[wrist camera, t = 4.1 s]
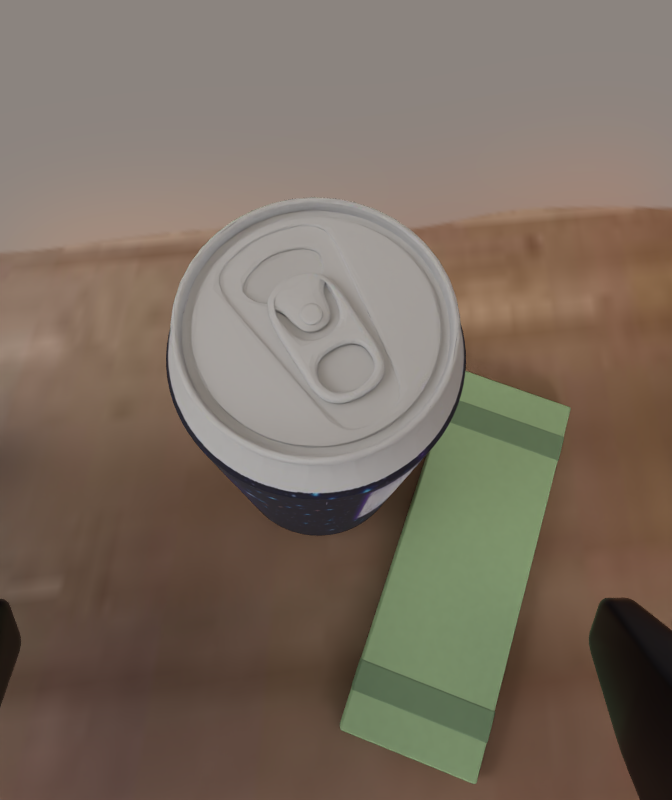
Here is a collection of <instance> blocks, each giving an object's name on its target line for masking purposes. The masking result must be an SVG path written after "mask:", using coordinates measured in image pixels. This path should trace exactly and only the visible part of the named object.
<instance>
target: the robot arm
mask: <svg viewBox="0 0 672 800" xmlns="http://www.w3.org/2000/svg"><path fill="white" fill-rule="evenodd" d="M20 646H21V636H20V632H19V630H18V627H17V624H16V621H15V618H14V616H13V613H12V610H11V607H10V605H9V603H8V602H7V601H6V600H5V599H0V706H1V703H2V700H3V698H4V695H5V692H6V689H7V686H8V683H9V680H10V677H11V674H12V672H13V669H14V666H15V663H16V660H17V657H18V654H19V651H20ZM589 646H590V651H591V654H592V658H593V661H594V665H595V668H596V671H597V675H598V678H599V681H600V685H601V688H602V691H603V695H604V698H605V701H606V705H607V708H608V711H609V715H610V718H611V721H612V725H613V728H614V732H615V735H616V738H617V741H618V744H619V747H620V750H621V753H622V756H623V758H624V761H625V764H626V766H627V769H628V771H629V774H630V776H631V779H632V781H633V784H634V786H635V789H636V791H637V794H638V796H639V798H640V800H672V630H670V629H669V628H668V627H667V626H665V625H664V624H663V623H662V622H660V621H659V620H658V619H657V618H655V617H654V616H653V615H652V614H650V613H649V612H648V611H646V610H645V609H644V608H643V607H641V606H640V605H639V604H638V603H636V602H635V601H633V600H631V599H629V598H605V599H603V600H602V601H601V602H600V604H599V606H598V609H597V612H596V615H595V618H594V621H593V624H592V627H591V630H590V634H589Z"/></svg>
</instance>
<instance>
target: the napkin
mask: <svg viewBox="0 0 672 800" xmlns="http://www.w3.org/2000/svg"><path fill="white" fill-rule="evenodd" d="M569 413H570V407H568V406H565V405H562V404H559V403H556V402H554V401H551V400H548V399H545V398H542V397H539V396H536V395H533V394H530V393H528V392H525V391H522V390H519V389H516V388H513V387H510V386H507V385H504V384H502V383H499V382H496V381H493V380H490V379H487V378H484V377H481V376H478V375H476V374H473V373H470V372H467V371H465V378H464V385H463V389H462V393H461V397H460V400H459V403H458V406H457V408H456V411H455V413H454V416H453V418H452V419H451V421H450V423H449V425H448V427H447V429H446V430H445V432H444V433H443V435H442V436H441V438H440V439H439V440H438V442H437V443H436V444H435V445H434V447H433V448H432V449H431V450H430V451H429V452H428V453H427V455H426V459H425V462H424V465H423V468H422V471H421V474H420V477H419V480H418V483H417V486H416V489H415V493H414V496H413V499H412V502H411V505H410V508H409V511H408V514H407V517H406V520H405V523H404V527H403V530H402V533H401V536H400V539H399V542H398V545H397V548H396V551H395V554H394V557H393V561H392V564H391V567H390V570H389V573H388V576H387V579H386V582H385V585H384V588H383V592H382V595H381V598H380V601H379V604H378V607H377V610H376V613H375V616H374V619H373V622H372V626H371V629H370V632H369V635H368V638H367V641H366V644H365V647H364V650H363V653H362V656H361V658H360V661H359V664H358V667H357V670H356V673H355V676H354V679H353V682H352V687H351V690H350V694H349V697H348V700H347V703H346V706H345V709H344V712H343V715H342V718H341V721H340V729H341V730H342V731H344V732H347V733H349V734H352V735H354V736H357V737H359V738H362V739H364V740H367V741H369V742H371V743H374V744H376V745H379V746H381V747H384V748H386V749H389V750H391V751H394V752H396V753H399V754H401V755H404V756H406V757H408V758H411V759H413V760H416V761H418V762H421V763H423V764H426V765H428V766H431V767H433V768H436V769H438V770H440V771H443V772H445V773H448V774H450V775H453V776H455V777H458V778H460V779H463V780H465V781H468V782H470V783H472V784H476V782H477V779H478V775H479V771H480V767H481V763H482V759H483V755H484V751H485V747H486V743H487V742H488V739H489V735H490V731H491V727H492V723H493V719H494V715H495V707H496V703H497V699H498V695H499V691H500V687H501V683H502V679H503V675H504V671H505V667H506V663H507V659H508V656H509V652H510V648H511V644H512V640H513V636H514V632H515V628H516V624H517V620H518V616H519V612H520V608H521V604H522V600H523V596H524V592H525V588H526V584H527V580H528V576H529V572H530V568H531V564H532V560H533V556H534V552H535V548H536V544H537V540H538V536H539V532H540V528H541V524H542V520H543V517H544V513H545V509H546V505H547V501H548V497H549V493H550V489H551V485H552V481H553V477H554V473H555V469H556V465H557V461H558V460H559V456H560V452H561V448H562V444H563V440H564V433H565V429H566V425H567V421H568V417H569Z"/></svg>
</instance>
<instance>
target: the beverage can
mask: <svg viewBox="0 0 672 800" xmlns="http://www.w3.org/2000/svg"><path fill="white" fill-rule="evenodd" d="M166 368H167V378H168V384H169V389H170V393H171V396H172V400H173V403H174V405H175V408H176V411H177V413H178V415H179V417H180V419H181V421H182V423H183V425H184V427H185V428H186V430H187V432H188V433H189V435H190V436H191V437H192V439H193V440H194V442H195V443H196V444H197V445H198V446H199V448H200V449H201V450H202V451H203V452H204V453H205V454H206V455H207V456H208V457H209V458H210V459H211V460H212V461H213V463H214V464H215V465H216V466H217V467H218V468H219V469H220V470H221V471H222V472H223V473H224V474H225V475H226V476H227V477H228V478H229V479H230V480H231V481H232V482H233V483H234V484H235V485H236V486H237V487H238V488H239V489H240V490H241V492H242V493H243V494H244V495H245V496H246V497H247V498H248V499H249V500H250V501H251V502H252V503H253V504H254V505H255V506H256V507H257V508H258V509H259V510H260V511H261V512H262V513H263V514H264V515H265V516H266V517H267V518H269V519H270V520H271V521H273V522H274V523H276V524H278V525H279V526H281V527H283V528H285V529H288V530H290V531H293V532H297V533H301V534H306V535H317V536H319V535H331V534H336V533H340V532H344V531H346V530H349V529H351V528H353V527H356V526H357V525H359V524H361V523H362V522H364V521H365V520H367V519H368V518H369V517H371V516H372V515H373V514H374V513H375V512H376V511H377V510H378V509H379V508H380V507H381V505H382V504H383V503H384V502H385V501H386V500H387V499H388V498H389V496H390V495H391V494H392V493H393V492H394V491H395V490H396V489H397V487H398V486H399V485H400V484H401V483H402V482H403V481H404V479H405V478H406V477H407V476H408V475H409V474H410V473H411V472H412V470H413V469H414V468H415V467H416V466H417V465H418V464H419V462H420V461H421V460H422V459H423V458H424V457H425V456H426V455H427V453H428V452H429V451H430V450H431V449H432V448H433V447H434V445H435V444H436V443H437V442H438V440H439V439H440V438H441V436H442V435H443V433H444V432H445V430H446V429H447V427H448V425H449V423H450V421H451V419H452V418H453V416H454V413H455V411H456V408H457V406H458V403H459V400H460V397H461V393H462V389H463V385H464V378H465V369H466V350H465V341H464V336H463V330H462V327H461V323H460V315H459V309H458V304H457V299H456V296H455V293H454V290H453V288H452V285H451V282H450V280H449V277H448V276H447V274H446V272H445V270H444V268H443V267H442V265H441V263H440V261H439V260H438V259H437V257H436V256H435V255H434V254H433V252H432V251H431V250H430V249H429V247H428V246H427V245H426V244H425V243H424V242H423V241H422V240H421V239H420V238H419V237H418V236H417V235H416V234H415V233H414V232H412V231H411V230H410V229H409V228H407V227H406V226H404V225H403V224H401V223H400V222H398V221H397V220H396V219H394V218H392V217H390V216H388V215H386V214H384V213H382V212H380V211H378V210H376V209H374V208H370V207H368V206H365V205H362V204H359V203H356V202H351V201H346V200H340V199H334V198H318V197H317V198H316V197H310V198H299V199H290V200H285V201H281V202H276V203H272V204H269V205H266V206H263V207H261V208H258V209H255V210H253V211H251V212H249V213H247V214H245V215H243V216H241V217H239V218H237V219H235V220H234V221H232V222H231V223H230V224H228V225H227V226H225V227H224V228H223V229H221V230H220V231H219V232H217V233H216V234H215V235H214V236H213V237H212V238H211V239H210V240H209V241H208V242H207V243H206V244H205V245H204V246H203V247H202V248H201V249H200V251H199V252H198V254H197V255H196V256H195V258H194V259H193V260H192V262H191V263H190V264H189V266H188V268H187V270H186V272H185V274H184V276H183V278H182V280H181V282H180V285H179V288H178V291H177V294H176V297H175V300H174V304H173V310H172V317H171V327H170V331H169V336H168V342H167V353H166Z"/></svg>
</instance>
